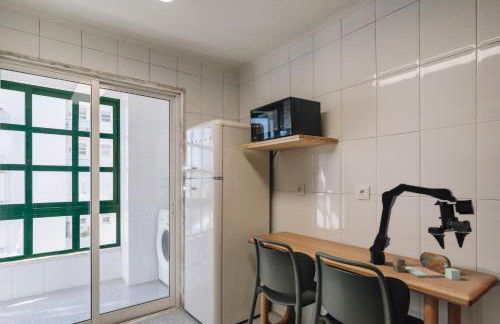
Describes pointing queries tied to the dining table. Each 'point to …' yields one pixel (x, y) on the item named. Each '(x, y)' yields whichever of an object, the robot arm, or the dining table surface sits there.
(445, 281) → the dining table surface
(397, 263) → the block
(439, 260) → the tin
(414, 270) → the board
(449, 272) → the sage block
